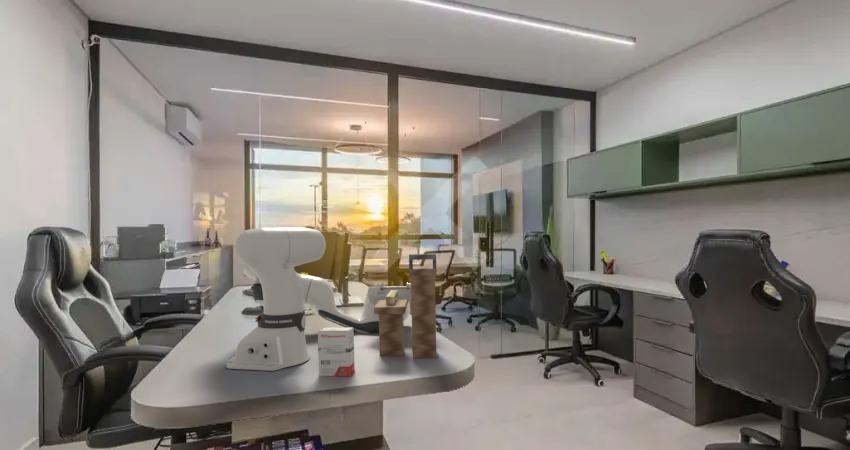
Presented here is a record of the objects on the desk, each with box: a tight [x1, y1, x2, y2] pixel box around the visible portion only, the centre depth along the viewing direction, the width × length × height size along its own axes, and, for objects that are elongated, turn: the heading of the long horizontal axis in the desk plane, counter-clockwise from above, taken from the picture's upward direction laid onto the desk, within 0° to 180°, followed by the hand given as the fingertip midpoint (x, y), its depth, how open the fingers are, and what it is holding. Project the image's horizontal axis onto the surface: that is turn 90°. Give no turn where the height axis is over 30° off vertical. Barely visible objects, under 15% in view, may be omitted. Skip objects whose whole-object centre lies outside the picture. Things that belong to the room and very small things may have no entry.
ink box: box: [317, 327, 356, 377], centre depth 109 cm, size 9×5×12 cm, turn 84°
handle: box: [386, 290, 398, 305], centre depth 133 cm, size 2×15×2 cm, turn 179°
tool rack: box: [374, 253, 438, 359], centre depth 127 cm, size 18×13×30 cm
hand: (395, 285), depth 142 cm, fingers open, 8 cm apart
